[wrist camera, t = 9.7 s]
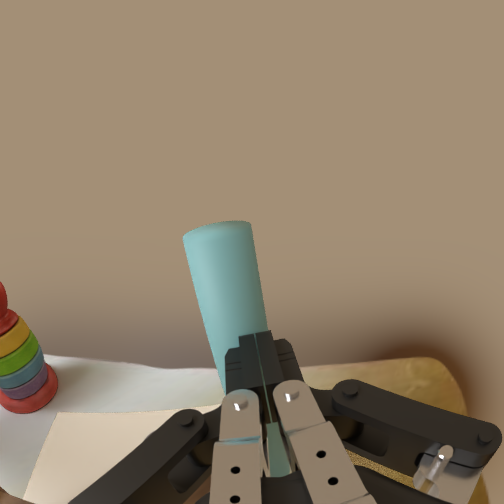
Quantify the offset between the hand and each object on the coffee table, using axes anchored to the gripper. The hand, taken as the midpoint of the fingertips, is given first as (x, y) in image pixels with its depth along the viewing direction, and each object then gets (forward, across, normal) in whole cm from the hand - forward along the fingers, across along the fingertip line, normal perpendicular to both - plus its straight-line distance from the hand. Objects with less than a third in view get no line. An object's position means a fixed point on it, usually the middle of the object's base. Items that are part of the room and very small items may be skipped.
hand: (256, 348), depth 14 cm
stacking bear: (+14, +32, +15) cm, 38 cm away
